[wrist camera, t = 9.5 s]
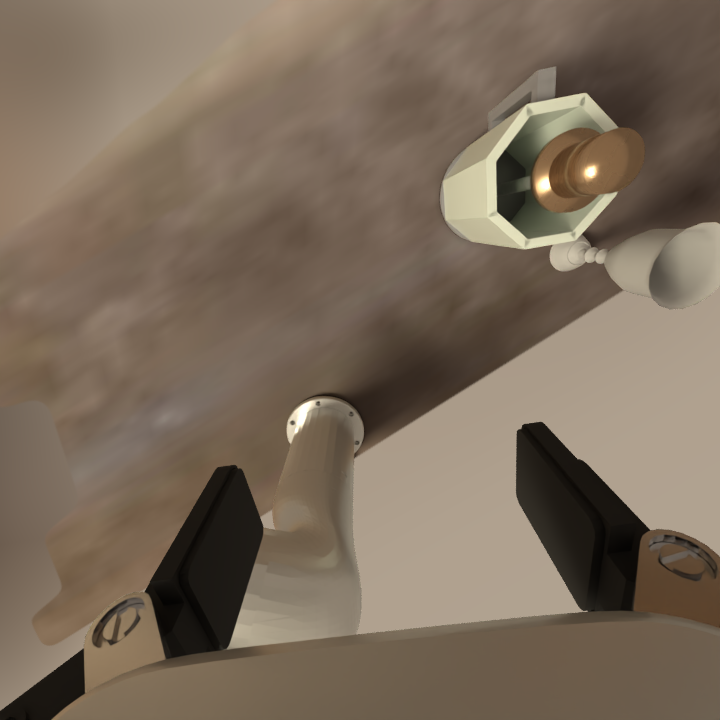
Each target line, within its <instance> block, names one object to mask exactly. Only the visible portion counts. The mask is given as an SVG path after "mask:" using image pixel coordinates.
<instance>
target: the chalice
mask: <svg viewBox="0 0 720 720" xmlns="http://www.w3.org/2000/svg"><path fill="white" fill-rule="evenodd" d="M594 261H596V262H597V263H599V264H602V263H604V265H605V268H606V270H607V271H608V273H609V275H610V277H611V278H612V279H613V280H614V281H615V282H616V283H617V284H618V285H619V286H620V287H621V288H622V289H623V290H624V291H627V292H630V293H633V294H637V295H642V296H646V297H650V298H652V299H653V300H654V301H655V302H656V303H658V305H659V306H662V307H665V308H668V309H683V308H686V307H689V306H692V305H695V304H697V303H699V302H701V301H702V300H704V299H705V298H707V297H709V296H710V295H711V294H712V293H713V292H714V291H715V290H716V289H717V288H719V287H720V224H719V223H716V222H712V223H700V224H698V225H695V226H692V227H690V228H687V229H651V230H649V231H646V232H643V233H641V234H638V235H635V236H633V237H630V238H628V239H626V240H625V241H623V242H621V243H620V244H618V245H616V246H615V247H613V248H612V249H611V250H610V251H608V250H607V249H602V250H600V251H599V249H598V248H596V247H593V248H591V245H590V243H589V242H588V240H587V239H586V238H585V237H584V236H583V235H582V234H581V235H580V236H579V237H578V238H577V240H575V241H570V242H564V243H559V244H553V246H552V248H551V251H550V262H551V264H552V266H553V267H554V268H556V269H557V270H560V271H570V270H573V269H575V268H577V267H579V266H581V265H583V264H584V263H585V262H588V263H592V262H594Z"/></svg>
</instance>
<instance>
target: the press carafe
mask: <svg viewBox="0 0 720 720" xmlns="http://www.w3.org/2000/svg"><path fill="white" fill-rule="evenodd" d="M555 85H556V67H551V68H546V69H541V70H538V71H536V72H535V73H534V74H533V75H532V76H531V77H530V78H528V79H527V80H526V81H525V82H524V83H523V84H521V85H520V86H519V87H518V88H517V89H516V90H515V91H513V92H512V93H511V94H510V95H509V96H508V97H506V98H505V99H504V100H503V101H502V102H501V103H499V104H498V105H497V106H496V107H495V108H494V109H493V110H491V111H490V112H489V113H488V133H486V134H485V135H483V136H482V137H481V138H479V139H478V140H476V141H475V142H474V143H472V144H471V145H469V146H468V147H467V148H466V149H464V150H463V151H462V152H461V153H459V154H458V155H457V156H456V157H455V158H454V160H453V161H452V162H451V164H450V165H449V167H448V168H447V170H446V172H445V174H444V176H443V179H442V182H441V187H440V193H439V203H440V210H441V213H442V216H443V219H444V221H445V223H446V224H447V226H448V227H449V228H450V230H451V231H452V232H453V233H455V234H456V235H457V236H459V237H461V238H463V239H465V240H468V241H471V242H478V243H485V244H491V245H498V246H505V247H512V248H519V249H529V248H535V247H541V246H547V245H553V244H559V243H564V242H570V241H575V240H577V238H578V237H579V236H580V235H581V234H582V233H583V232H584V231H585V230H586V228H587V227H588V226H589V225H590V224H591V223H592V222H593V221H594V220H595V218H596V217H597V216H598V215H599V214H600V213H601V212H602V211H603V210H604V208H605V207H606V206H607V205H608V204H609V203H610V202H611V201H612V200H613V198H614V197H615V196H616V194H617V192H614V193H608V194H600V195H598V196H597V197H596V198H595V199H594V200H593V201H592V202H591V203H590V204H588V205H587V206H585V207H584V208H582V209H580V210H577V211H574V212H568V213H553V212H550V211H547V210H545V209H543V208H542V207H541V206H540V205H539V204H538V203H537V202H536V201H535V199H534V197H533V195H532V192H531V190H526V191H521V192H516V193H512V194H507V195H502V196H497V187H496V185H499V184H502V183H506V182H509V181H513V180H516V179H520V178H523V177H527V176H530V175H531V170H532V166H533V163H534V161H535V159H536V157H537V155H538V153H539V152H540V151H541V149H542V148H543V147H544V146H545V145H546V144H547V143H548V142H549V141H550V140H551V139H553V138H554V137H556V136H557V135H559V134H561V133H563V132H566V131H568V130H571V129H574V128H581V127H582V128H590V129H593V130H596V131H597V132H599V133H600V134H602V133H605V132H607V131H610V130H613V129H616V128H618V126H617V125H616V124H615V123H614V122H613V121H612V120H611V119H610V118H609V117H608V116H607V115H606V114H605V112H604V111H603V110H602V109H601V108H600V107H599V106H598V105H597V104H596V103H595V102H594V101H593V100H592V99H591V97H590V96H589V95H588V94H587V93H581V94H576V95H571V96H566V97H561V98H556V99H555ZM530 100H531V103H530V104H526V103H528V102H529V101H530ZM525 104H526V105H525ZM523 105H525V106H524V107H522V106H523ZM521 107H522V108H521ZM519 108H521V109H519ZM518 109H519V110H518ZM517 110H518V111H517ZM515 111H517V112H515ZM514 112H515V113H514ZM512 113H514V114H512ZM511 114H512V115H511ZM510 115H511V116H510ZM508 116H510V117H508ZM507 117H508V118H507ZM506 118H507V119H506ZM505 119H506V120H505Z"/></svg>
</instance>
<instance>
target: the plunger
mask: <svg viewBox="0 0 720 720" xmlns="http://www.w3.org/2000/svg"><path fill="white" fill-rule="evenodd" d="M644 157H645V146H644V142H643V139H642V138H641V136H640V135H639V134H638V133H637V132H636V131H635V130H633V129H630V128H626V127H621V128H616V129H613V130H610V131H607V132H605V133H602V134H600V133H599V132H597V131H596V130H593V129H590V128H582V127H581V128H574V129H571V130H568V131H566V132H563V133H561V134H559V135H557V136H556V137H554V138H553V139H551V140H550V141H549V142H548V143H547V144H546V145H545V146H544V147H543V148H542V149H541V151H540V152H539V153H538V155H537V157H536V159H535V161H534V163H533V166H532V170H531V175H530V176H527V177H523V178H520V179H516V180H513V181H509V182H506V183H502V184H499V185H496V187H497V196H502V195H507V194H512V193H516V192H521V191H526V190H531V192H532V195H533V197H534V199H535V201H536V202H537V203H538V204H539V205H540V206H541V207H542V208H543V209H545V210H547V211H550V212H553V213H568V212H574V211H577V210H580V209H582V208H584V207H585V206H587V205H588V204H590V203H591V202H592V201H593V200H594V199H595V198H596V197H597V196H598V195H600V194H608V193H614V192H617V191H620V190H622V189H623V188H625V187H626V186H628V185H629V184H630V183H631V182H632V181H633V180H634V179H635V177H636V176H637V175H638V173H639V171H640V169H641V167H642V165H643V162H644Z"/></svg>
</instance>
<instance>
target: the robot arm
mask: <svg viewBox="0 0 720 720" xmlns="http://www.w3.org/2000/svg"><path fill="white" fill-rule="evenodd" d="M318 401H320V402H318ZM287 437H288V440H289V442H290V444H291V446H290V449H289V452H288V455H287V459H286V462H285V465H284V468H283V472H282V475H281V478H280V481H279V485H278V488H277V491H276V494H275V498H274V502H273V511H272V515H273V523H274V527H275V530H273V529H267V528H263V524H262V521H261V519H260V516H259V513H258V511H257V508H256V505H255V502H254V500H253V497H252V494H251V492H250V489H249V486H248V484H247V481H246V478H245V475H244V473H243V471H242V469H238V468H237V466H236V465H230V466H223V467H218V468H217V469H216V470H215V471H214V473H213V475H212V477H211V478H210V480H209V482H208V483H207V485H206V487H205V488H204V490H203V492H202V494H201V495H200V497H199V499H198V500H197V502H196V504H195V506H194V507H193V509H192V511H191V512H190V514H189V516H188V517H187V519H186V521H185V523H184V524H183V526H182V528H181V529H180V531H179V533H178V535H177V536H176V538H175V540H174V541H173V543H172V545H171V546H170V548H169V550H168V552H167V553H166V555H165V557H164V558H163V560H162V562H161V564H160V565H159V567H158V569H157V570H156V572H155V574H154V575H153V577H152V579H151V581H150V583H149V585H148V587H147V588H146V590H145V592H133V593H130V594H127V595H125V596H123V597H121V598H119V599H117V600H116V601H115V602H113V603H112V604H111V605H109V606H108V607H107V608H106V609H105V610H104V611H103V612H102V613H101V614H100V615H99V616H98V617H97V618H96V619H95V621H94V622H93V624H92V625H91V626H90V628H89V630H88V632H87V634H86V636H85V642H84V649H82V650H81V651H80V652H78V653H77V654H76V655H74V656H73V657H72V658H70V659H69V660H68V661H66V662H65V663H64V664H63V665H61V666H60V667H58V668H57V669H56V670H54V671H53V672H52V673H50V674H49V675H48V676H46V677H45V678H44V679H42V680H41V681H40V682H38V683H37V684H36V685H34V686H33V687H32V688H30V689H29V690H28V691H26V692H25V693H24V694H22V695H21V696H20V697H19V698H17V699H16V700H14V701H13V702H12V703H10V704H9V705H8V706H6V707H5V708H4V709H2V710H1V711H0V720H720V557H719V555H717V554H716V553H715V552H714V551H713V550H712V549H710V548H709V547H708V546H707V545H705V544H703V543H702V542H700V541H698V540H696V539H694V538H692V537H690V536H688V535H685V534H683V533H680V532H676V531H672V530H663V529H656V530H650V529H649V528H648V527H647V526H646V525H645V524H644V523H643V522H642V521H641V520H640V519H639V518H638V517H637V516H636V515H635V514H634V513H633V512H632V511H631V510H630V508H629V507H627V505H626V504H625V503H624V502H623V501H622V500H621V499H620V498H619V497H618V496H617V495H616V494H615V493H614V492H613V491H612V490H611V489H610V488H609V487H608V485H607V484H606V483H605V482H604V481H603V480H602V479H601V478H600V477H599V476H598V475H597V474H596V473H595V472H594V471H593V470H592V469H591V468H590V467H589V466H588V465H587V464H586V463H585V462H584V461H582V460H580V459H577V458H576V457H575V456H574V455H573V454H572V453H571V452H570V451H569V450H568V449H567V448H566V447H565V445H563V443H562V442H561V441H560V440H559V439H558V438H557V437H556V436H555V435H554V434H553V433H552V432H551V430H550V429H549V428H548V427H547V426H546V425H545V424H544V423H543V422H536V423H529V424H524V425H522V429H519V430H518V431H517V457H516V459H517V460H516V462H517V463H516V470H517V471H516V495H517V498H518V501H519V504H520V506H521V507H522V509H523V511H524V513H525V514H526V516H527V518H528V520H529V521H530V523H531V525H532V527H533V528H534V530H535V532H536V533H537V535H538V537H539V539H540V540H541V542H542V544H543V546H544V547H545V549H546V551H547V553H548V554H549V556H550V558H551V560H552V561H553V563H554V565H555V566H556V568H557V570H558V572H559V573H560V575H561V577H562V579H563V580H564V582H565V584H566V586H567V587H568V589H569V591H570V592H571V594H572V596H573V598H574V599H575V601H576V603H577V605H578V606H579V607H580V609H582V610H583V611H586V610H587V611H588V612H579V613H567V614H555V615H543V616H532V617H521V618H511V619H501V620H491V621H481V622H471V623H461V624H452V625H442V626H433V627H423V628H413V629H404V630H396V631H385V632H376V633H367V634H358V635H356V633H357V630H358V627H359V622H360V616H361V584H360V575H359V570H358V564H357V559H356V553H355V548H354V538H353V478H354V477H353V475H354V453H355V452H356V451H357V450H358V449H359V447H360V446H361V444H362V441H363V437H364V426H363V421H362V419H361V416H360V414H359V413H358V412H357V410H356V409H355V408H354V407H353V406H352V405H350V404H349V403H347V402H346V401H344V400H342V399H339V398H336V397H331V396H318V397H313V398H310V399H307V400H305V401H303V402H302V403H300V404H299V405H298V406H297V407H296V408H295V409H294V410H293V411H292V413H291V415H290V417H289V420H288V423H287Z"/></svg>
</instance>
